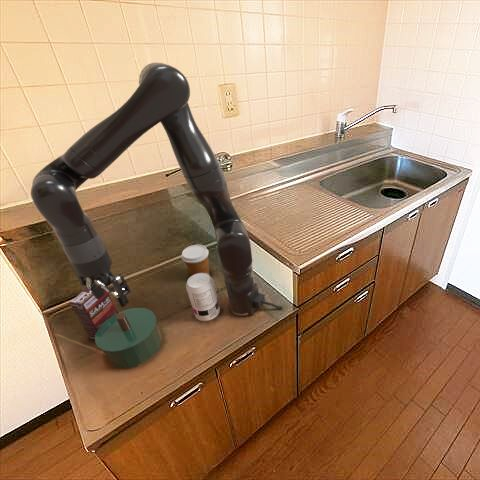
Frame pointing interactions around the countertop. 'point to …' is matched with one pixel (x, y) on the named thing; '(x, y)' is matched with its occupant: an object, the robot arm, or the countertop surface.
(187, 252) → the disposable coffee cup
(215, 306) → the supplement can
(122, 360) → the pot
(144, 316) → the lid
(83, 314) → the supplement box
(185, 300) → the countertop surface
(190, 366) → the countertop surface
